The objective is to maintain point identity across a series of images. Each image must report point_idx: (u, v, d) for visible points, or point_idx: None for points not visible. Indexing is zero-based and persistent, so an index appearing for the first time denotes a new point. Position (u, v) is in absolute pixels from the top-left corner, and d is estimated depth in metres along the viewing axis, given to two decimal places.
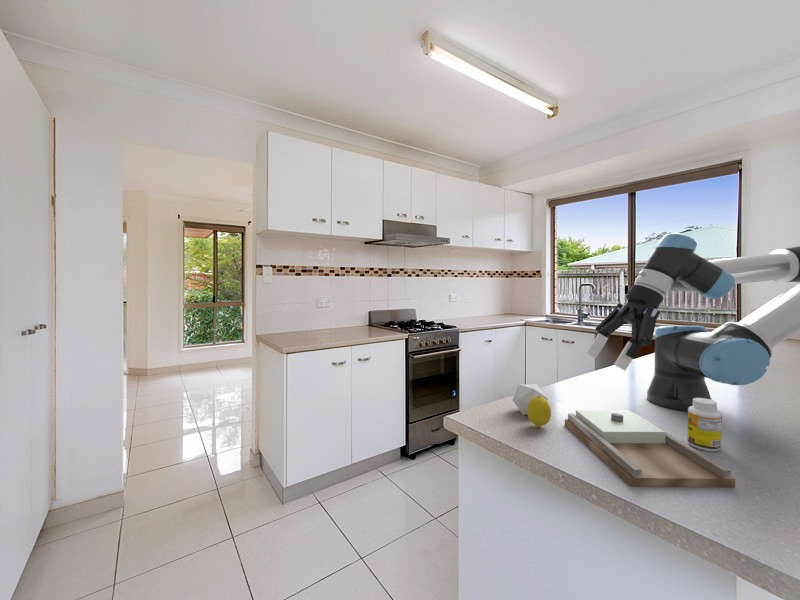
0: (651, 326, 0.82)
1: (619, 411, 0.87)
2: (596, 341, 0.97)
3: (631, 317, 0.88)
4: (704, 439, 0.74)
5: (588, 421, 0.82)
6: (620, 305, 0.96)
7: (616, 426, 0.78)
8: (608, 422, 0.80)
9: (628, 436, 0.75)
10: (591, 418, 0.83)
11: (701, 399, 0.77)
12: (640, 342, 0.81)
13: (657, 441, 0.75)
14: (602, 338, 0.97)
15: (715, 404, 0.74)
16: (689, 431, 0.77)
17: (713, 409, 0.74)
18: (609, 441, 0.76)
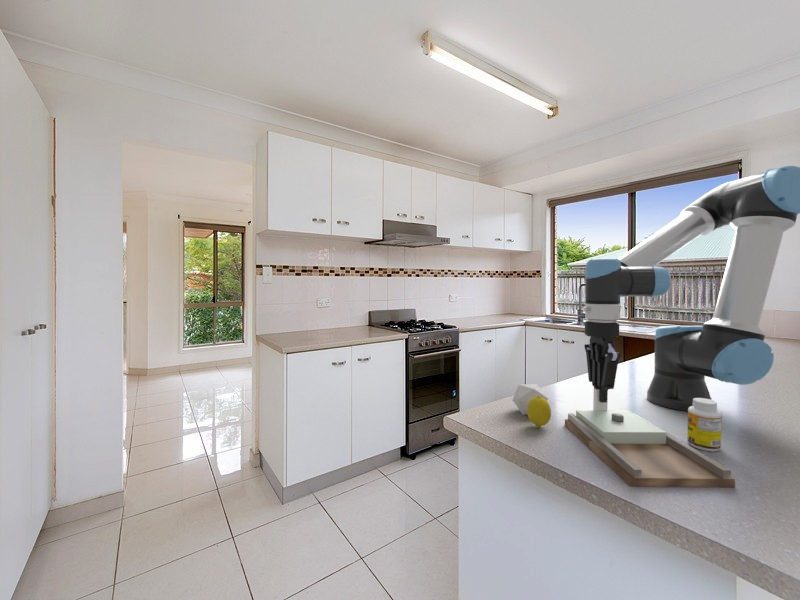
0: (612, 371, 0.84)
1: (620, 411, 0.87)
2: None
3: (596, 357, 0.87)
4: (704, 439, 0.74)
5: (588, 421, 0.82)
6: (587, 345, 0.93)
7: (616, 426, 0.78)
8: (609, 422, 0.80)
9: (628, 437, 0.75)
10: (592, 418, 0.83)
11: (701, 399, 0.77)
12: (604, 388, 0.85)
13: (658, 441, 0.75)
14: None
15: (715, 404, 0.74)
16: (689, 431, 0.77)
17: (713, 409, 0.74)
18: (609, 441, 0.75)
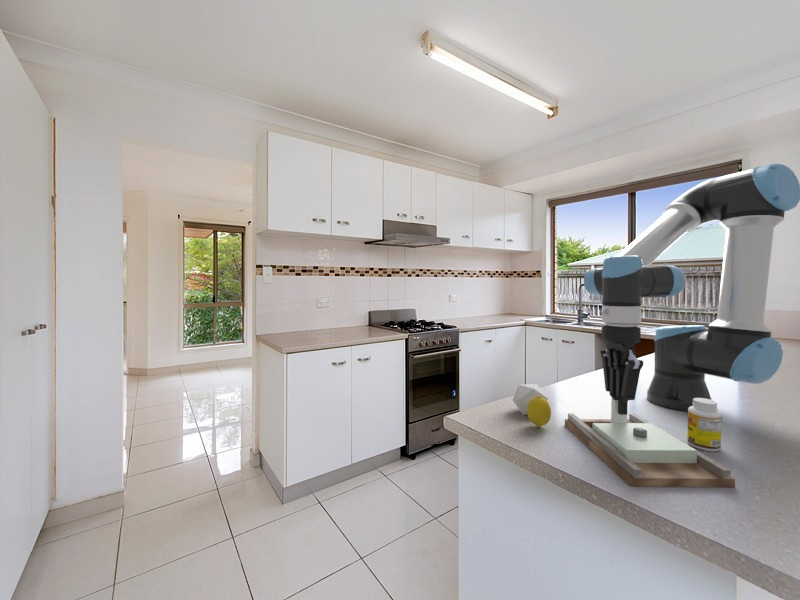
0: (634, 381, 0.75)
1: (641, 424, 0.79)
2: None
3: (615, 365, 0.79)
4: (704, 439, 0.74)
5: (608, 436, 0.74)
6: (603, 351, 0.85)
7: (639, 443, 0.70)
8: (631, 438, 0.72)
9: (654, 455, 0.67)
10: (611, 433, 0.75)
11: (701, 399, 0.77)
12: (624, 399, 0.77)
13: (687, 461, 0.67)
14: None
15: (715, 404, 0.74)
16: (689, 431, 0.77)
17: (713, 409, 0.74)
18: (633, 460, 0.67)
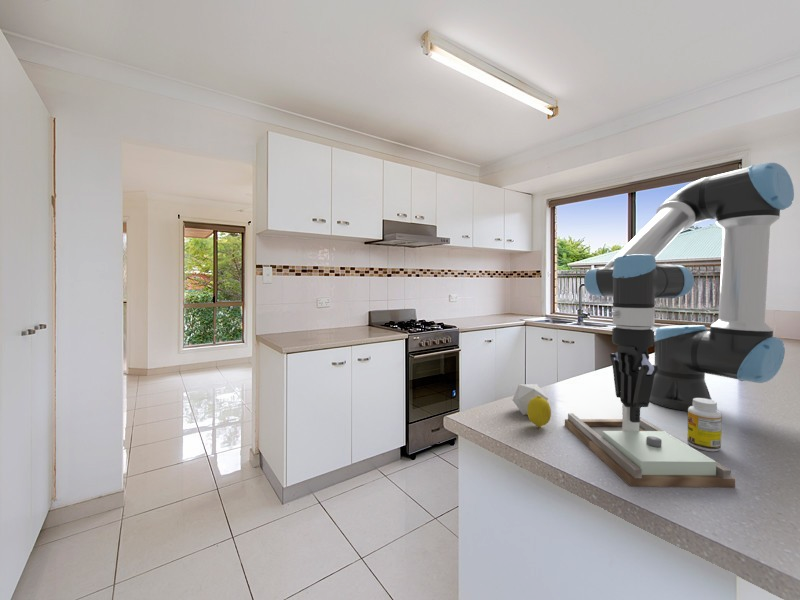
0: (647, 387, 0.71)
1: (654, 433, 0.74)
2: None
3: (626, 370, 0.75)
4: (704, 439, 0.74)
5: (619, 446, 0.69)
6: (613, 355, 0.81)
7: (654, 453, 0.66)
8: (644, 448, 0.68)
9: (670, 467, 0.63)
10: (623, 442, 0.70)
11: (701, 399, 0.77)
12: (636, 406, 0.73)
13: (706, 473, 0.63)
14: None
15: (715, 404, 0.74)
16: (689, 431, 0.77)
17: (713, 409, 0.74)
18: (648, 472, 0.63)
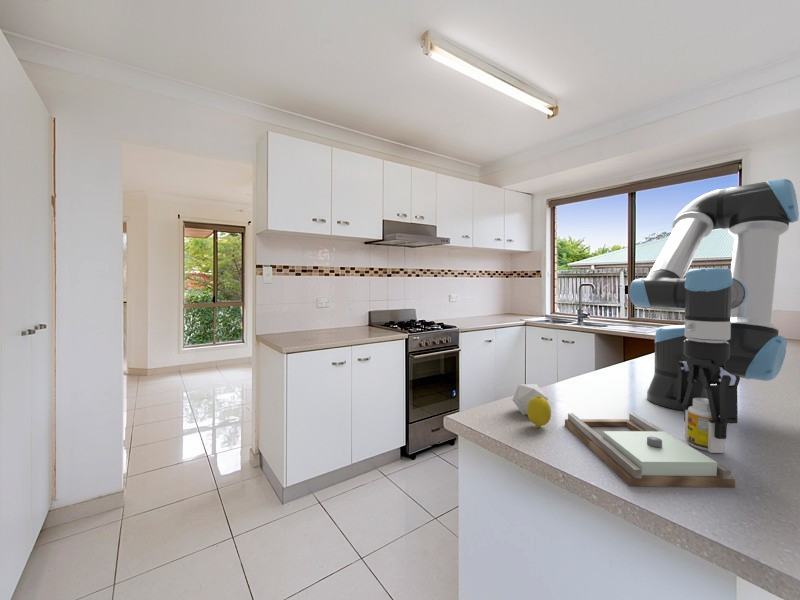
0: (732, 399, 0.70)
1: (655, 433, 0.74)
2: None
3: (704, 383, 0.74)
4: (704, 439, 0.74)
5: (620, 446, 0.69)
6: (681, 363, 0.82)
7: (655, 453, 0.66)
8: (645, 448, 0.68)
9: (671, 467, 0.63)
10: (623, 442, 0.70)
11: (701, 399, 0.77)
12: None
13: (706, 473, 0.62)
14: None
15: None
16: (689, 431, 0.77)
17: None
18: (648, 473, 0.63)
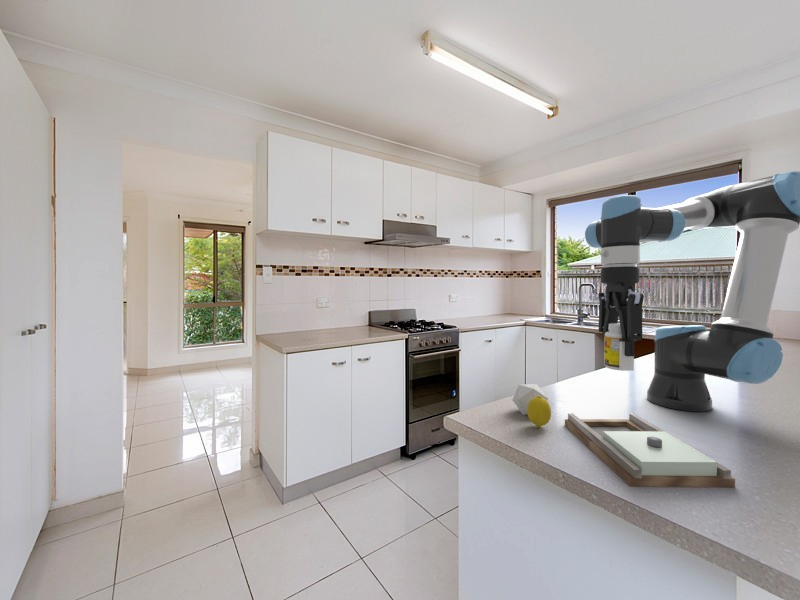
0: (638, 317, 0.74)
1: (655, 433, 0.74)
2: None
3: (616, 306, 0.79)
4: (616, 359, 0.79)
5: (620, 446, 0.69)
6: (601, 294, 0.86)
7: (655, 453, 0.66)
8: (645, 448, 0.68)
9: (671, 467, 0.63)
10: (623, 442, 0.70)
11: (616, 323, 0.81)
12: (631, 339, 0.75)
13: (706, 473, 0.62)
14: None
15: None
16: (605, 354, 0.82)
17: None
18: (648, 473, 0.63)
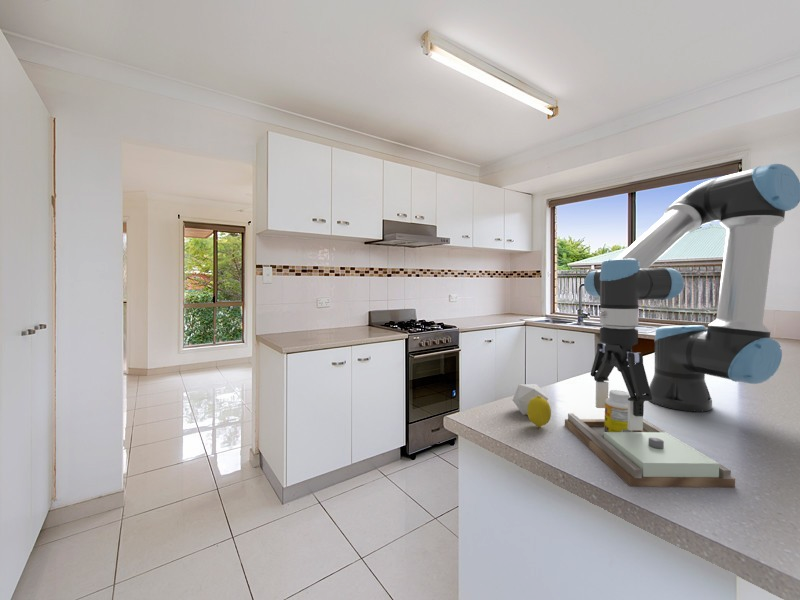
0: (642, 376, 0.73)
1: (656, 434, 0.74)
2: (598, 391, 0.88)
3: (617, 366, 0.78)
4: (616, 428, 0.79)
5: (621, 447, 0.69)
6: (600, 345, 0.87)
7: (656, 455, 0.65)
8: (646, 449, 0.67)
9: (673, 469, 0.62)
10: (625, 443, 0.70)
11: (617, 391, 0.82)
12: (640, 400, 0.72)
13: (709, 474, 0.62)
14: (602, 385, 0.88)
15: (627, 396, 0.79)
16: (605, 421, 0.82)
17: (625, 400, 0.79)
18: (650, 474, 0.62)
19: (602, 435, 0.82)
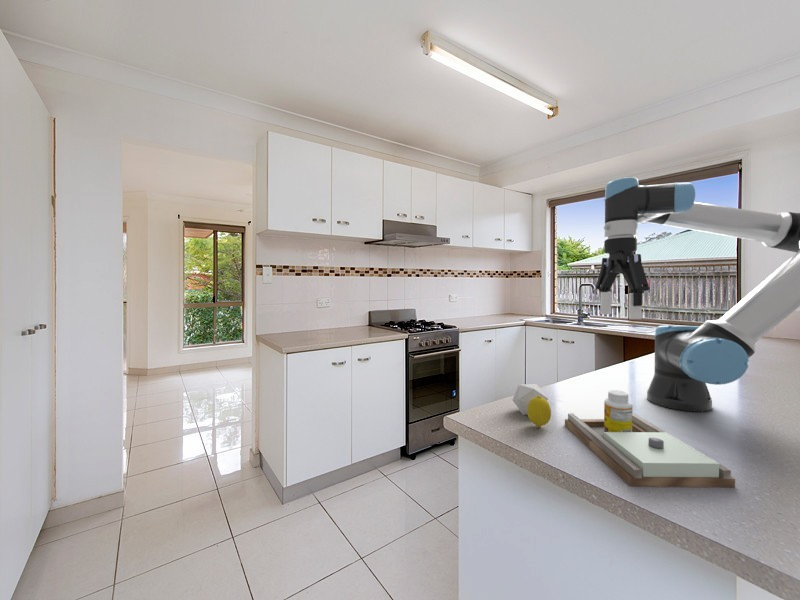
0: (640, 271, 0.87)
1: (656, 434, 0.74)
2: (603, 300, 1.02)
3: (619, 269, 0.92)
4: (615, 429, 0.79)
5: (621, 447, 0.69)
6: (604, 259, 1.01)
7: (656, 455, 0.65)
8: (646, 449, 0.67)
9: (673, 469, 0.62)
10: (625, 443, 0.70)
11: (616, 391, 0.82)
12: (639, 290, 0.86)
13: (709, 474, 0.62)
14: (606, 294, 1.02)
15: (626, 396, 0.79)
16: (604, 421, 0.82)
17: (624, 400, 0.79)
18: (650, 474, 0.62)
19: (602, 435, 0.82)
